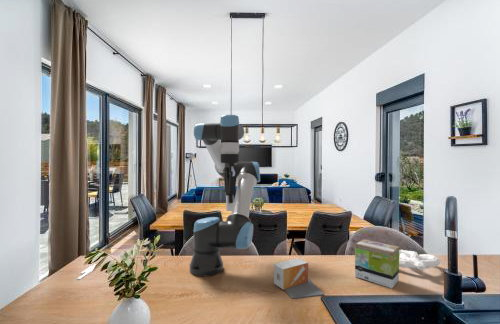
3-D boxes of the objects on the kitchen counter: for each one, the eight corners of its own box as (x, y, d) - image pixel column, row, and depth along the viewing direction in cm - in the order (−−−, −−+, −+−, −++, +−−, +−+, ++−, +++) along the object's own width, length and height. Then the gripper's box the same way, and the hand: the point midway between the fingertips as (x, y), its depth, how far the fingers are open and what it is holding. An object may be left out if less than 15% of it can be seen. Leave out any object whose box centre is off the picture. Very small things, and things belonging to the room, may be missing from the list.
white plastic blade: (68, 280, 108) (68, 277, 108) (90, 266, 123) (90, 264, 123) (80, 280, 108) (80, 277, 108) (101, 266, 123) (101, 263, 123)
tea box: (354, 277, 111) (354, 243, 111) (362, 270, 119) (362, 238, 119) (393, 289, 101) (393, 251, 101) (399, 281, 108) (399, 245, 109)
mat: (277, 280, 108) (277, 279, 108) (306, 277, 111) (306, 276, 111) (291, 298, 93) (291, 297, 93) (324, 295, 96) (324, 293, 96)
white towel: (363, 263, 131) (362, 250, 132) (393, 257, 142) (391, 245, 143) (420, 277, 107) (419, 261, 108) (451, 269, 118) (449, 254, 119)
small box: (283, 269, 99) (308, 262, 106) (273, 263, 104) (297, 257, 111) (283, 290, 99) (308, 282, 106) (273, 283, 104) (297, 276, 111)
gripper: (217, 153, 111) (217, 208, 112) (224, 153, 98) (224, 214, 99) (234, 153, 113) (234, 206, 114) (243, 153, 101) (243, 213, 102)
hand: (229, 210), depth 107 cm, fingers closed
